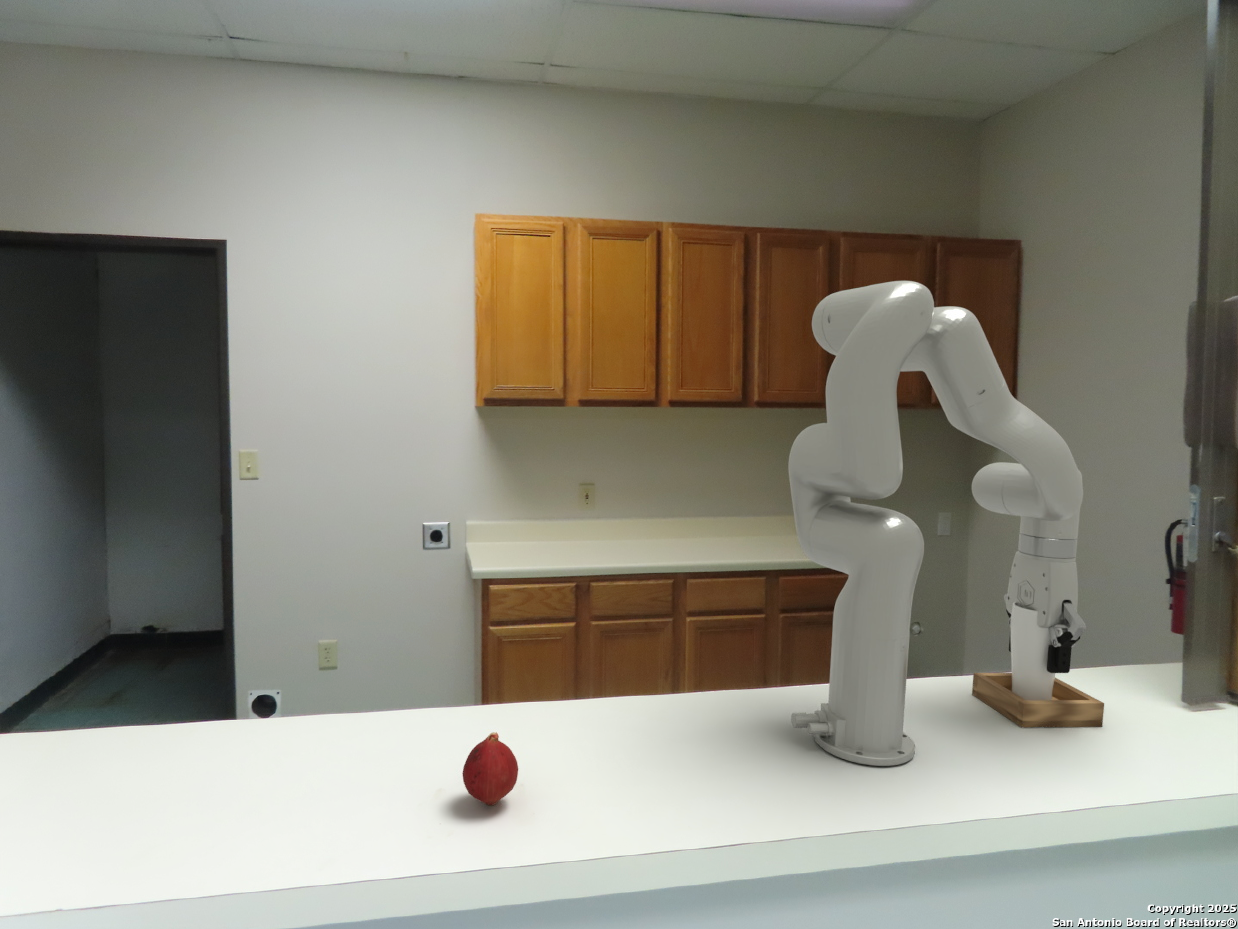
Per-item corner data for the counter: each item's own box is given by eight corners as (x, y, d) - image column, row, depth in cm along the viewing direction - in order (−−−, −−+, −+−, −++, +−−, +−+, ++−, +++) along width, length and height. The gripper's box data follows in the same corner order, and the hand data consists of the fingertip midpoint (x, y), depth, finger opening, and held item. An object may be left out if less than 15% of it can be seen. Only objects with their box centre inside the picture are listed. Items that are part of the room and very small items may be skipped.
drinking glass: (1045, 696, 116) (1051, 601, 115) (1065, 714, 110) (1072, 613, 108) (998, 693, 117) (1005, 599, 116) (1016, 710, 110) (1022, 611, 109)
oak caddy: (1022, 727, 107) (1023, 703, 106) (972, 694, 119) (973, 673, 119) (1102, 727, 108) (1104, 703, 108) (1044, 694, 120) (1046, 672, 120)
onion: (468, 823, 77) (470, 748, 77) (457, 796, 82) (458, 725, 82) (523, 813, 79) (525, 740, 79) (508, 787, 85) (510, 718, 84)
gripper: (988, 537, 120) (980, 644, 121) (1064, 559, 103) (1054, 683, 104) (1032, 538, 121) (1023, 644, 122) (1114, 560, 104) (1103, 683, 105)
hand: (1037, 661), depth 113 cm, fingers open, 8 cm apart
